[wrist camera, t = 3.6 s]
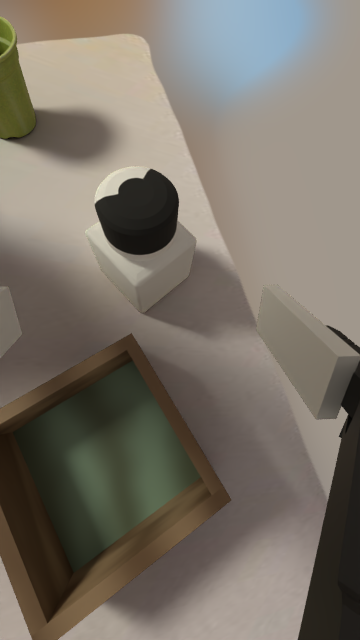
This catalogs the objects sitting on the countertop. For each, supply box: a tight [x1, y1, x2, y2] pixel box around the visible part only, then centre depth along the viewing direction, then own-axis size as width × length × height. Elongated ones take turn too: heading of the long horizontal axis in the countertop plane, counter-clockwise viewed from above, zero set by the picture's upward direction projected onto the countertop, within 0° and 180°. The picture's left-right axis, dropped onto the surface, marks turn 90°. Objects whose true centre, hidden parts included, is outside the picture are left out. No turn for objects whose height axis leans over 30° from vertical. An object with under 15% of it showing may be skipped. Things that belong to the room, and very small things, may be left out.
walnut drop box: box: [0, 333, 231, 640], centre depth 21 cm, size 14×14×6 cm
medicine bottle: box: [85, 166, 196, 313], centre depth 24 cm, size 7×7×12 cm
